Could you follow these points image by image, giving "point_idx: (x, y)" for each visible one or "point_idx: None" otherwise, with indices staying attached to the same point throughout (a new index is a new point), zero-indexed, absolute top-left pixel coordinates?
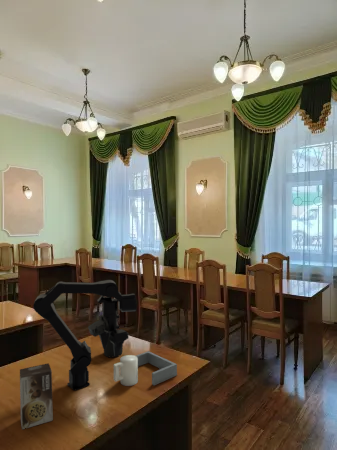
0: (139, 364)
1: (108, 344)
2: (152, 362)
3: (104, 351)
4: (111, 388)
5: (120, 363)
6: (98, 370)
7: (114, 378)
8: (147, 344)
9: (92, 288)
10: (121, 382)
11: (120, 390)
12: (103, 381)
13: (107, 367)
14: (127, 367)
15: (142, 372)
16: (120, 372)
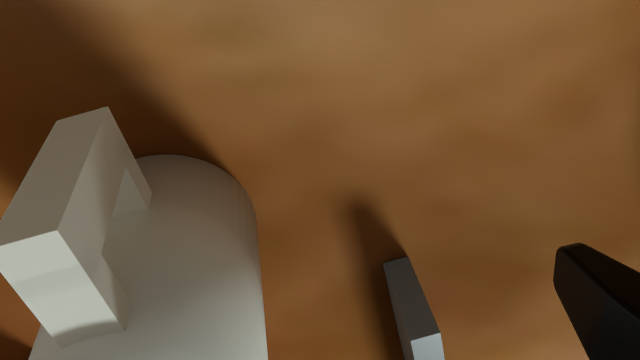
0: (405, 357)
1: None
2: None
3: None
4: (86, 40)
5: (64, 319)
6: (571, 23)
7: (84, 123)
8: None
9: None
10: (145, 165)
11: (9, 114)
12: (291, 3)
13: (563, 125)
14: (36, 342)
15: (284, 342)
16: (167, 221)
